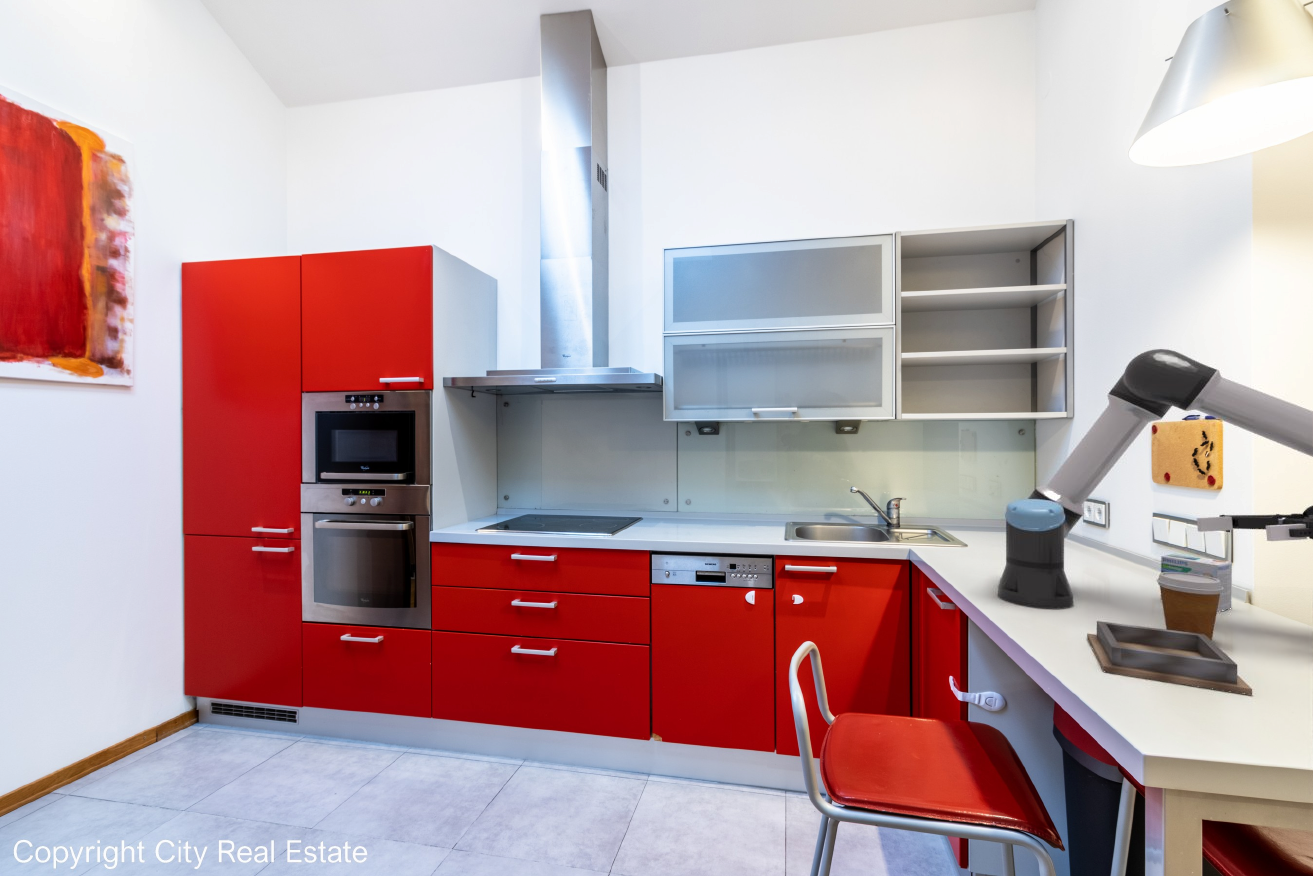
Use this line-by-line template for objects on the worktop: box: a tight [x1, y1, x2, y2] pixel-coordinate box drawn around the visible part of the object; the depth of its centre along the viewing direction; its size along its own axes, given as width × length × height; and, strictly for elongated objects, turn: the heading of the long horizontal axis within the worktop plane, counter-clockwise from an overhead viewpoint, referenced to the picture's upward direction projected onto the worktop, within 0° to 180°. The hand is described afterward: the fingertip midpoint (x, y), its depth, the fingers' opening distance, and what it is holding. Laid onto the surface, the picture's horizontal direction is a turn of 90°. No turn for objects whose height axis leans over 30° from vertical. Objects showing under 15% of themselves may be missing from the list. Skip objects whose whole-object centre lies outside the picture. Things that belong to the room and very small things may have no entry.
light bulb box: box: [1160, 553, 1233, 613], centre depth 133 cm, size 11×7×11 cm, turn 25°
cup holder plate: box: [1086, 620, 1253, 696], centre depth 100 cm, size 18×18×4 cm
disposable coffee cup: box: [1156, 572, 1224, 642], centre depth 111 cm, size 10×10×12 cm
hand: (1231, 529), depth 112 cm, fingers open, 13 cm apart
